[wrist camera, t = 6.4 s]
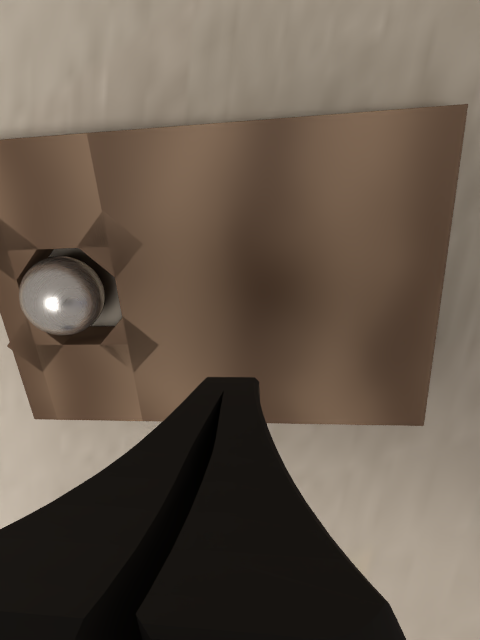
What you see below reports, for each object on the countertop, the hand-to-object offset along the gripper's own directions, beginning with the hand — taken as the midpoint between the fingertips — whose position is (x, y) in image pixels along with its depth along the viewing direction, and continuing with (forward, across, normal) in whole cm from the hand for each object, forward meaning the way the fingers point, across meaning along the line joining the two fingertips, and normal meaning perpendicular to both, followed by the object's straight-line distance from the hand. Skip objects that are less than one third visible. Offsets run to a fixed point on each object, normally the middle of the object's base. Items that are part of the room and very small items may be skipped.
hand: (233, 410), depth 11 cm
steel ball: (+8, +9, 0) cm, 11 cm away
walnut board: (+9, +2, 0) cm, 10 cm away
